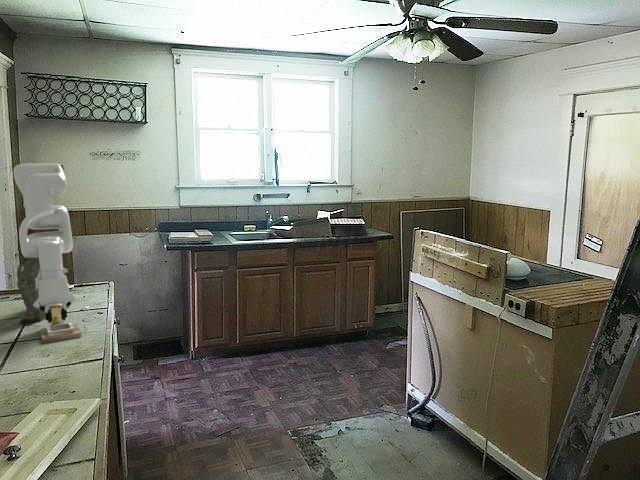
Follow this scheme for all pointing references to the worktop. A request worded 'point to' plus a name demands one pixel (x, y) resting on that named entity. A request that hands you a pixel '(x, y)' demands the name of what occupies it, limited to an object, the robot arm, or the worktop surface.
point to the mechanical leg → (29, 289)
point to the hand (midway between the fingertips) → (56, 320)
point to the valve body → (56, 314)
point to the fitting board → (60, 332)
